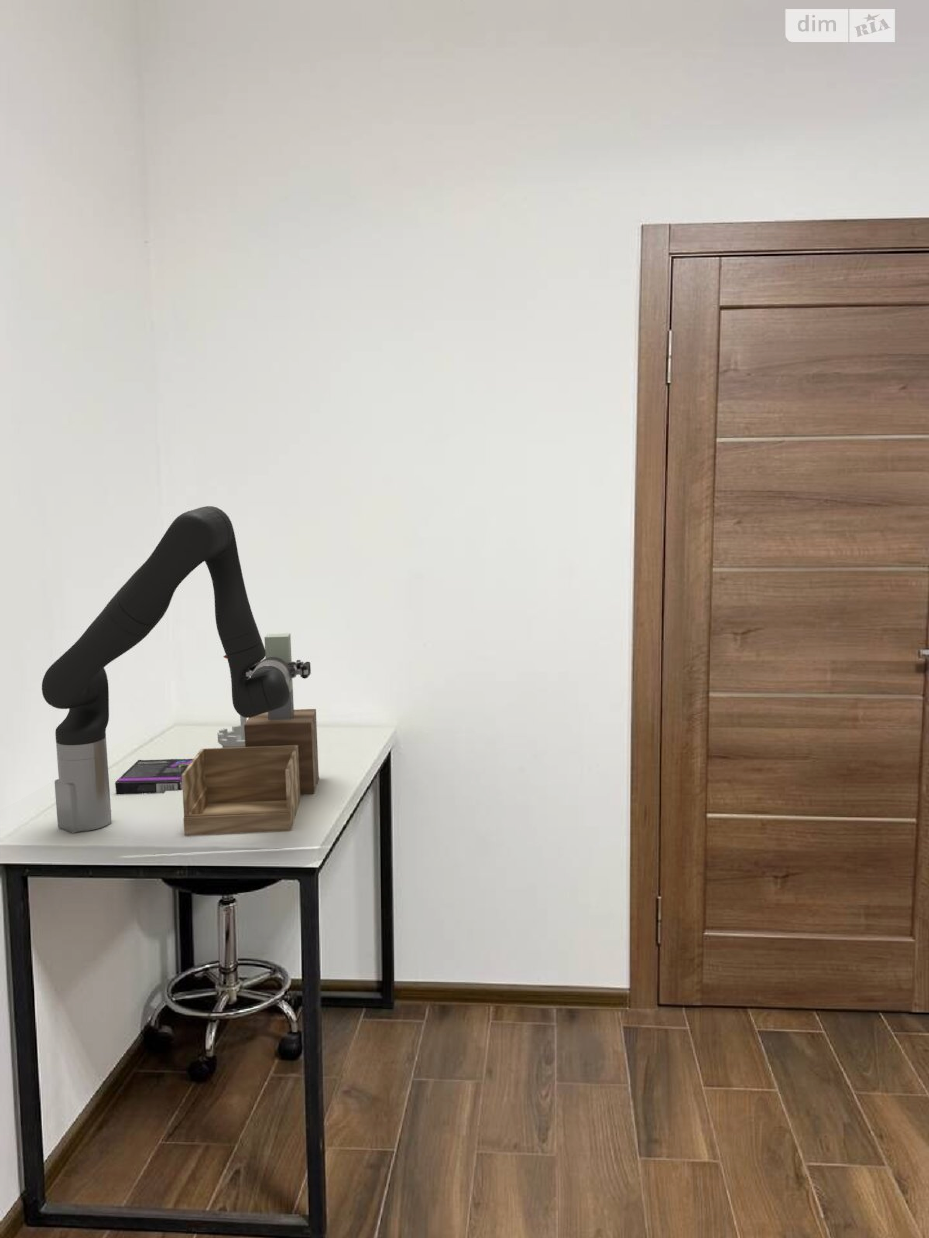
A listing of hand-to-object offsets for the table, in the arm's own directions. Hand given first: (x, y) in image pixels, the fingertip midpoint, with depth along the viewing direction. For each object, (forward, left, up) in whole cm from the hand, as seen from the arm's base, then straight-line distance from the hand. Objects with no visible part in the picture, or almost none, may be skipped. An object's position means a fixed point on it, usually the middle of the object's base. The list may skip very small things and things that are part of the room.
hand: (279, 665), depth 223 cm
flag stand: (+14, +33, -27) cm, 45 cm away
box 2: (-1, -1, -11) cm, 11 cm away
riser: (-1, -1, -27) cm, 27 cm away
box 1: (-15, +27, -28) cm, 41 cm away
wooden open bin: (-19, -11, -27) cm, 35 cm away
